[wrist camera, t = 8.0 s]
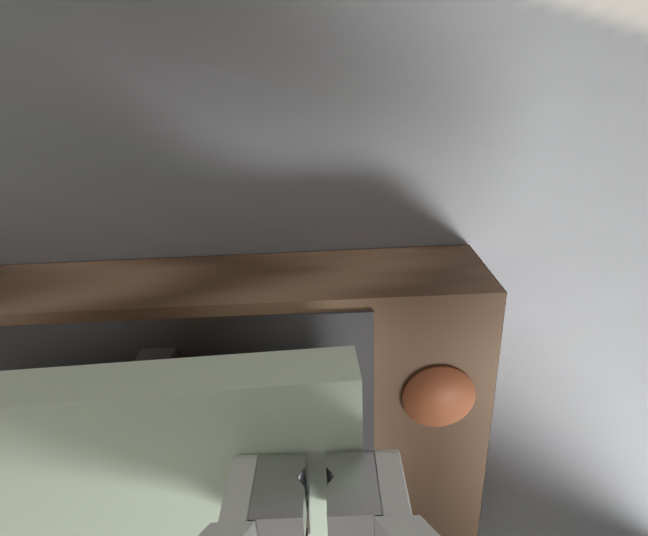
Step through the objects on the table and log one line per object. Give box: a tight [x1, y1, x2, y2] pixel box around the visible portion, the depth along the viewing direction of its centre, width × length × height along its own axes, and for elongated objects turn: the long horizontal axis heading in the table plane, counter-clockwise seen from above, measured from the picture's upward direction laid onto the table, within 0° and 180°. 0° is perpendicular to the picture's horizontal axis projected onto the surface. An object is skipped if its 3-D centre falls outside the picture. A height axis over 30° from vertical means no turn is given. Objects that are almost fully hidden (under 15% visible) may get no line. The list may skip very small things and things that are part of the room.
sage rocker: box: [0, 345, 363, 536], centre depth 10 cm, size 9×4×1 cm, turn 92°
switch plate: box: [0, 245, 507, 536], centre depth 14 cm, size 16×12×4 cm
